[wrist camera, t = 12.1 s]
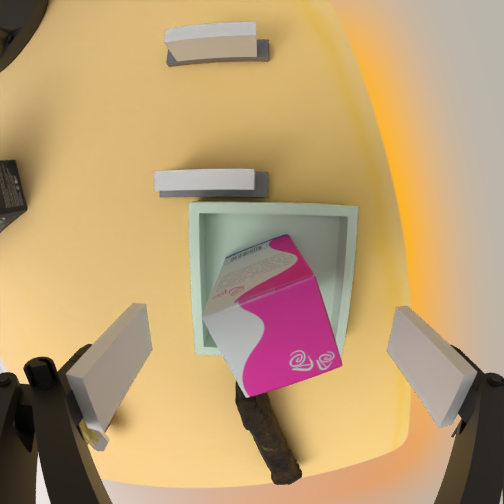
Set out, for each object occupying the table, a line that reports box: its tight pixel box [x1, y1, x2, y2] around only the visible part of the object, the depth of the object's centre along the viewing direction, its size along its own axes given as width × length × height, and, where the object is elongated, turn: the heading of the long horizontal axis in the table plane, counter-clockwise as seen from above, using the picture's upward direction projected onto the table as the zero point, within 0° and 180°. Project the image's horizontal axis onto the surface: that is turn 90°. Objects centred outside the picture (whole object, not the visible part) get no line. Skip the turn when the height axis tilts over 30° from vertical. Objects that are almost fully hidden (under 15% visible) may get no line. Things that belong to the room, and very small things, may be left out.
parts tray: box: [189, 201, 358, 356], centre depth 24 cm, size 13×13×3 cm
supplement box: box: [202, 234, 342, 398], centre depth 19 cm, size 6×6×12 cm
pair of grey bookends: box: [154, 22, 269, 197], centre depth 20 cm, size 14×9×5 cm, turn 179°
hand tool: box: [235, 381, 302, 485], centre depth 27 cm, size 19×4×5 cm, turn 15°
